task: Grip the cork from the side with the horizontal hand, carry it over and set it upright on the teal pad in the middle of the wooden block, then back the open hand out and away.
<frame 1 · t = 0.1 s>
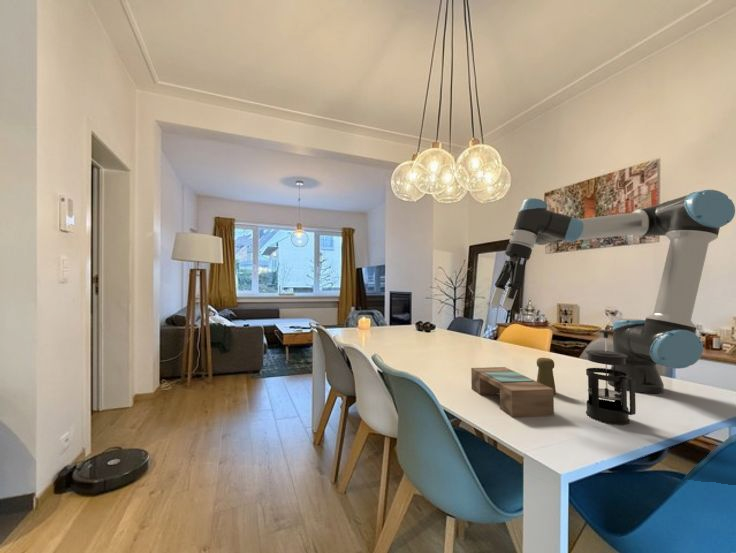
hand: (499, 307, 106), 28 cm above the table, tool tilted 20°, fingers open, 13 cm apart
wooden block: (508, 400, 98), on the table
french press: (609, 418, 86), on the table
cork: (545, 392, 107), on the table
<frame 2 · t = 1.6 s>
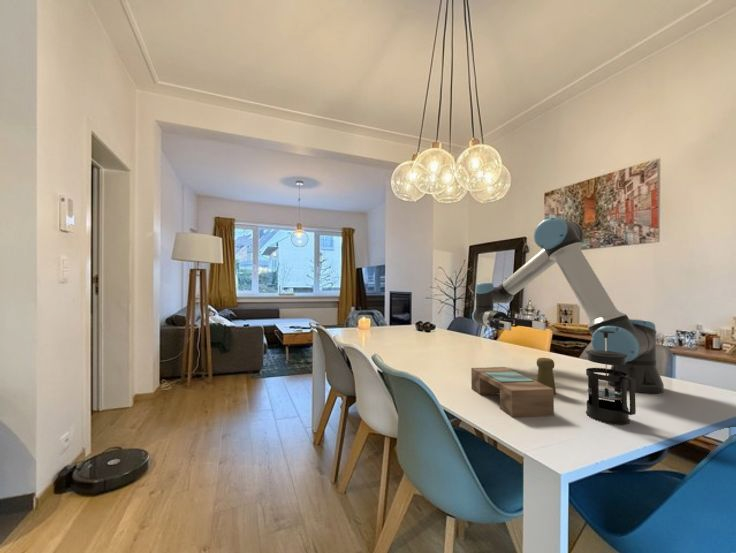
hand: (527, 326, 117), 20 cm above the table, tool horizontal, fingers open, 13 cm apart
nothing on the table moved.
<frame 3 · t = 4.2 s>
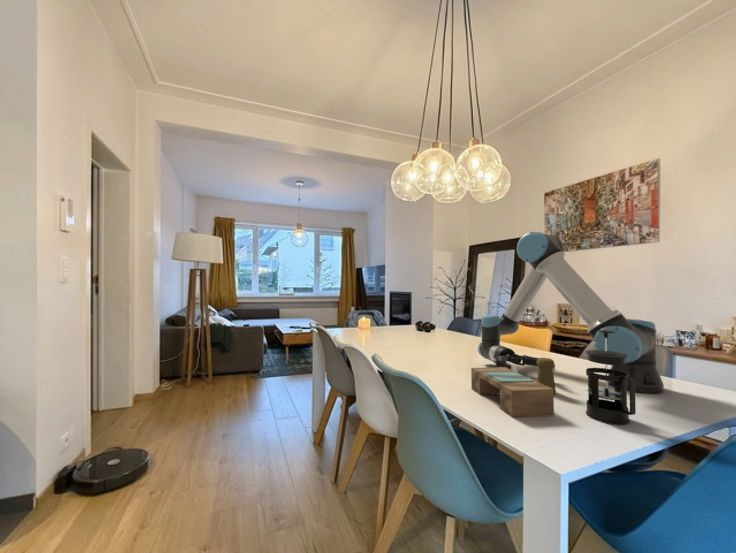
hand: (536, 369, 111), 6 cm above the table, tool horizontal, fingers open, 13 cm apart
nothing on the table moved.
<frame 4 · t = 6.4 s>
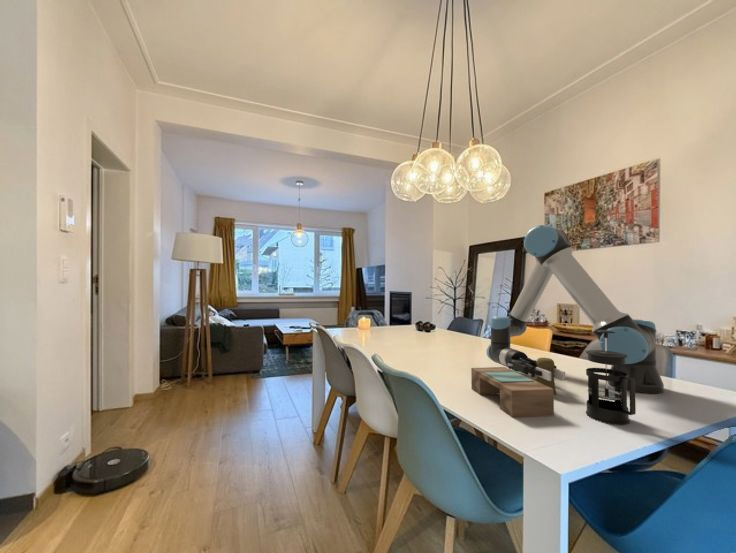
hand: (557, 376, 102), 7 cm above the table, tool horizontal, fingers closed on cork, 4 cm apart
cork: (545, 392, 107), on the table, touching gripper
everything else where it was.
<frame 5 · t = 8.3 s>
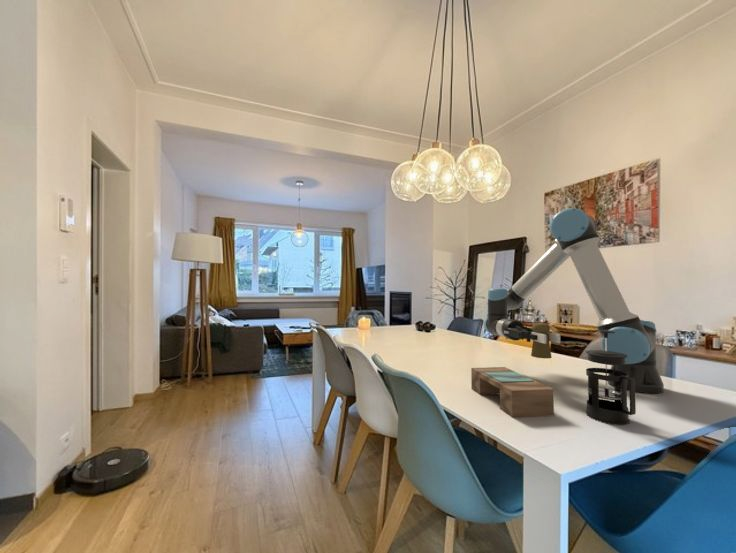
hand: (552, 339, 102), 18 cm above the table, tool horizontal, fingers closed on cork, 4 cm apart
cork: (541, 357, 107), point 11 cm above the table, touching gripper
everything else where it was.
when the fingers open (15 cm above the table, at t = 10.4 s): cork drops 1 cm, resting on wooden block.
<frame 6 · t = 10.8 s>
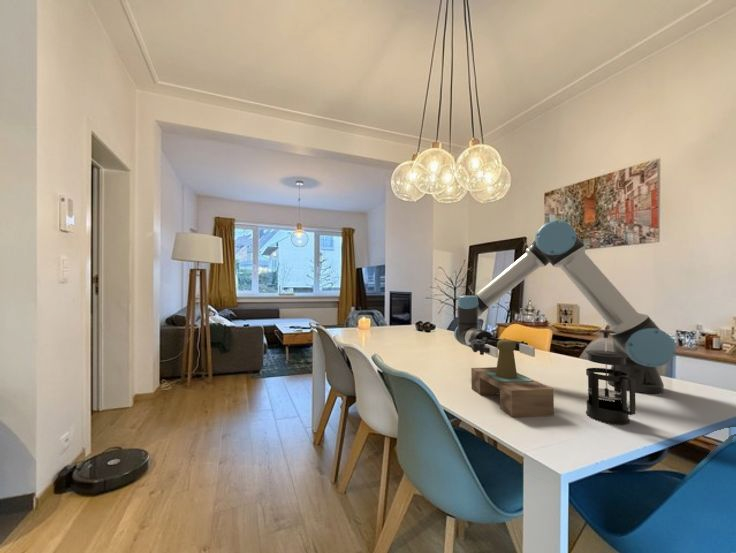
hand: (515, 352, 95), 15 cm above the table, tool horizontal, fingers open, 11 cm apart
cork: (506, 376, 99), point 7 cm above the table, touching wooden block
everything else where it was.
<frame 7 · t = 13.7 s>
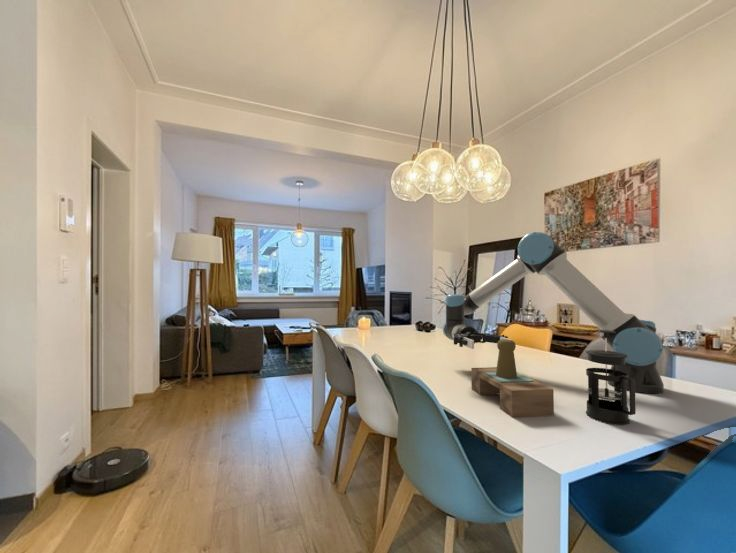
hand: (492, 344, 108), 15 cm above the table, tool horizontal, fingers open, 13 cm apart
nothing on the table moved.
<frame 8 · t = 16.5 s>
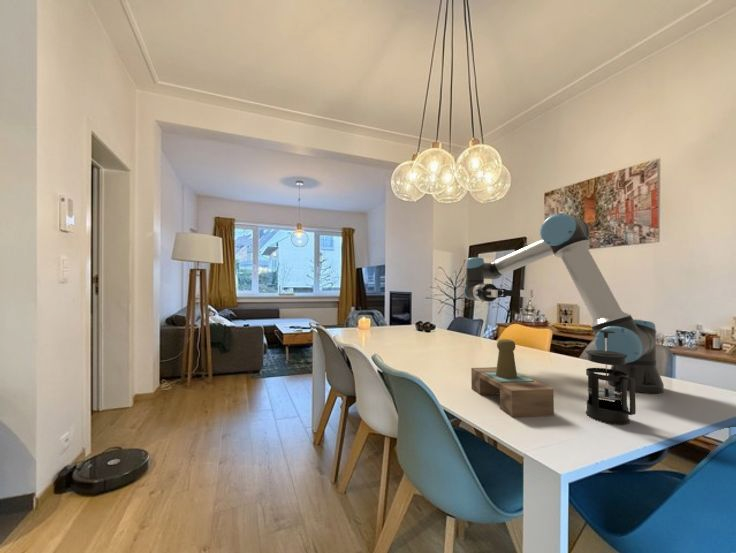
hand: (514, 293, 118), 32 cm above the table, tool horizontal, fingers open, 13 cm apart
nothing on the table moved.
at the end: cork inside the target area on the wooden block (0.4 cm from its centre), point 7.1 cm above the wooden block's base; cork tilted 0°; the gripper is holding nothing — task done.
